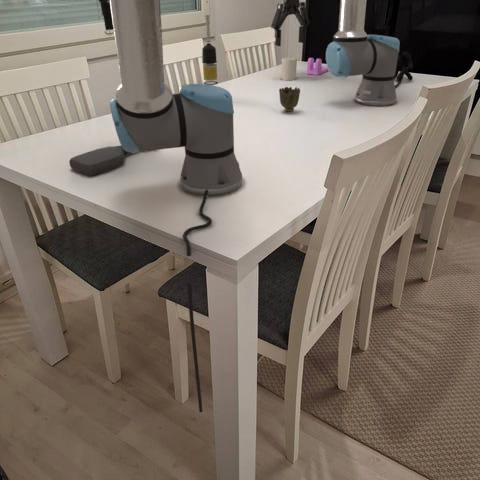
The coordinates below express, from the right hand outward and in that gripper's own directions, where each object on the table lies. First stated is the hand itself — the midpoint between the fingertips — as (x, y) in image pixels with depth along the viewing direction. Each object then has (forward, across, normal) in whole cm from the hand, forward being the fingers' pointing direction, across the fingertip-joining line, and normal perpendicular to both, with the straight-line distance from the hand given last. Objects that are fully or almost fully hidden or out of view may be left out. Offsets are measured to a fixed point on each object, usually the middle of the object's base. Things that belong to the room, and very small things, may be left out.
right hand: (289, 44), depth 200 cm
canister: (+15, 0, 0) cm, 15 cm away
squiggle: (+14, -36, +35) cm, 52 cm away
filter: (+15, +48, +8) cm, 50 cm away
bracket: (+15, -20, -1) cm, 25 cm away
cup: (+14, +36, +42) cm, 57 cm away
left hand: (-18, +92, +41) cm, 103 cm away
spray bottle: (+14, +103, +47) cm, 114 cm away
